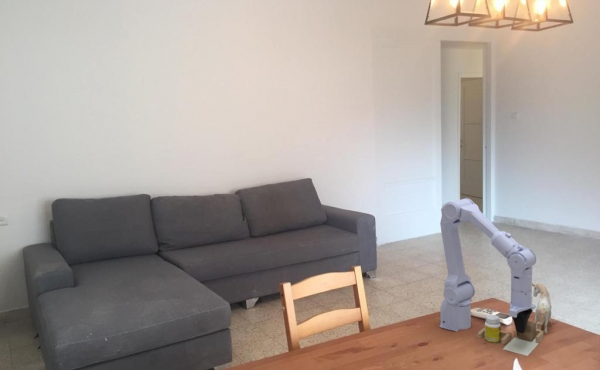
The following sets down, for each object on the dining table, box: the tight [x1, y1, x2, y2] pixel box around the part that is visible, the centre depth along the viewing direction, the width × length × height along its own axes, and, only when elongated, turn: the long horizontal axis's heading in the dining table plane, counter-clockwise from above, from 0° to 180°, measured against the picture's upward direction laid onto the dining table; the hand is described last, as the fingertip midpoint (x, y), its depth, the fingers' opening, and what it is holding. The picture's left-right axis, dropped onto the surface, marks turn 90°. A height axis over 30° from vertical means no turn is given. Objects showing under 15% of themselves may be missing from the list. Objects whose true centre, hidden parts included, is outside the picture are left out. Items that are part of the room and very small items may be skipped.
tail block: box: [518, 320, 536, 342], centre depth 156 cm, size 4×4×5 cm
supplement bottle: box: [484, 314, 502, 344], centre depth 156 cm, size 5×5×8 cm
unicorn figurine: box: [532, 282, 553, 334], centre depth 165 cm, size 7×20×13 cm, turn 166°
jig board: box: [476, 326, 545, 357], centre depth 156 cm, size 16×16×3 cm
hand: (520, 332), depth 151 cm, fingers closed
